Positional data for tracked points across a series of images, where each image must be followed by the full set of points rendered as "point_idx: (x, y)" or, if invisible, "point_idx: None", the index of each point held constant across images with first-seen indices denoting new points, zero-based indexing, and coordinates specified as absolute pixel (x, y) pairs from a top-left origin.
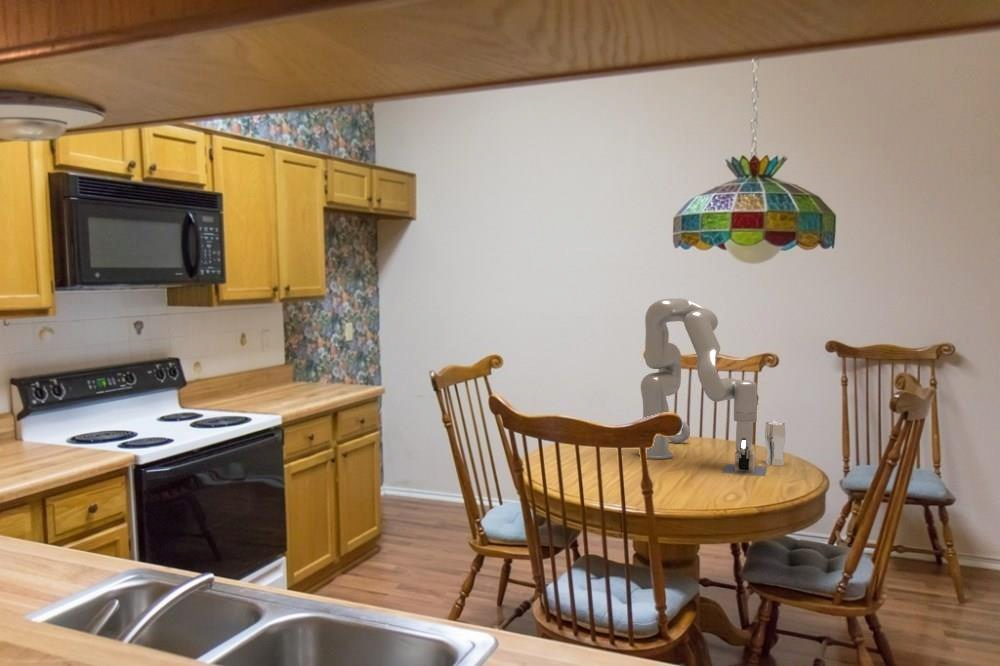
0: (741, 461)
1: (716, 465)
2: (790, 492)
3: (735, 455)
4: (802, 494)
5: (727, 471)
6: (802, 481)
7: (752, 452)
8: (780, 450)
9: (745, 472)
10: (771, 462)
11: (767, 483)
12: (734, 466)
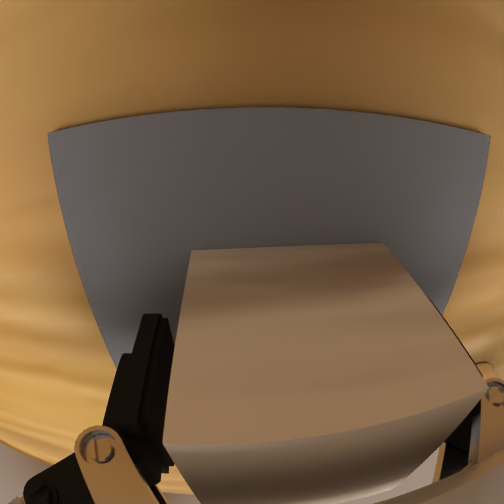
0: (108, 404)
1: (448, 40)
2: (8, 433)
3: (168, 413)
4: (19, 448)
5: (121, 179)
6: (171, 478)
7: (329, 502)
8: None
9: (172, 336)
10: None
11: (43, 407)
12: (396, 222)
